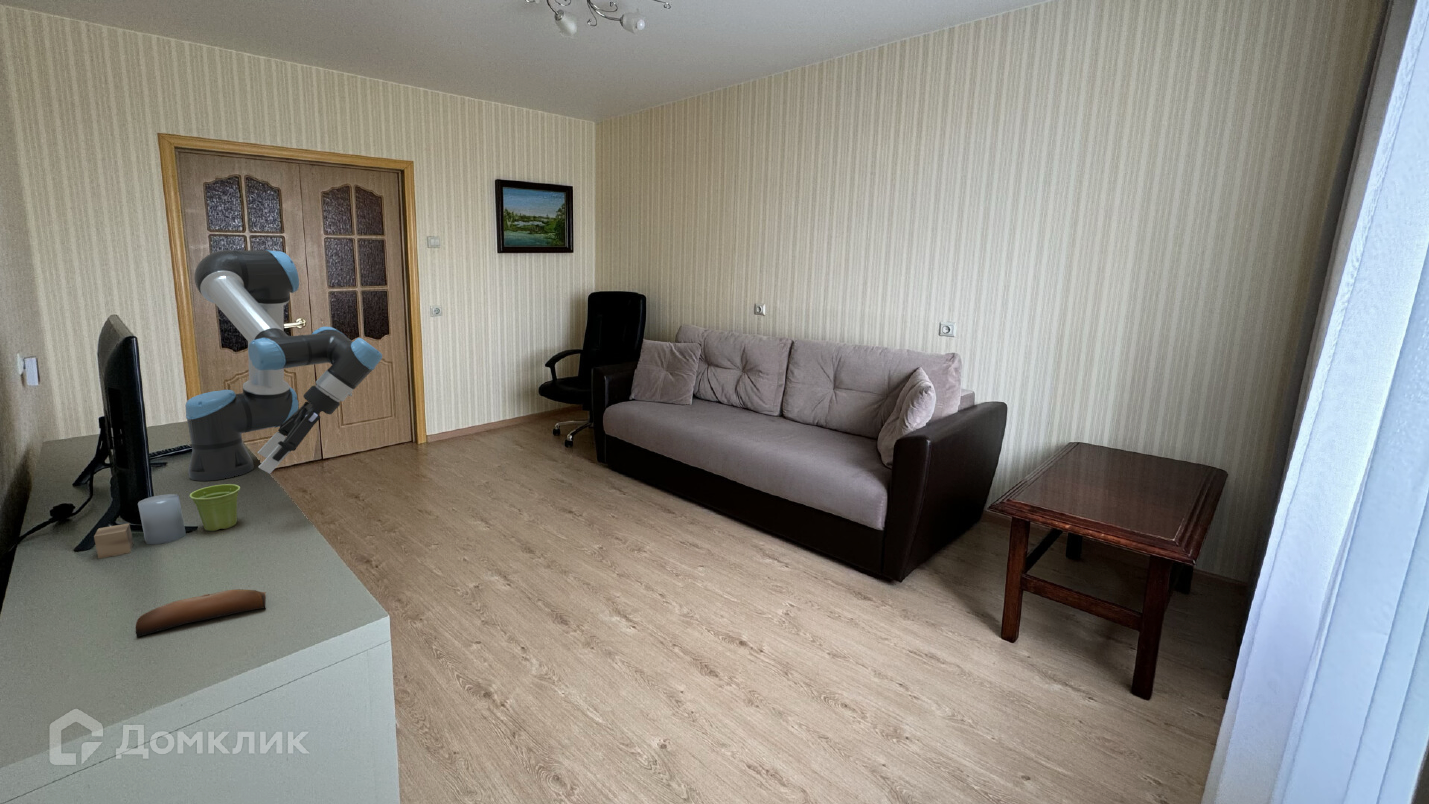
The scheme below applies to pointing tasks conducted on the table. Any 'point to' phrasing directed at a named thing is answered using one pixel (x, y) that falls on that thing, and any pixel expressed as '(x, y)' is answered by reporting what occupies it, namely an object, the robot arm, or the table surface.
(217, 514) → the plant pot
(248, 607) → the sunglasses case
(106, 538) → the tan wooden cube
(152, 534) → the slate jar
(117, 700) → the table surface
